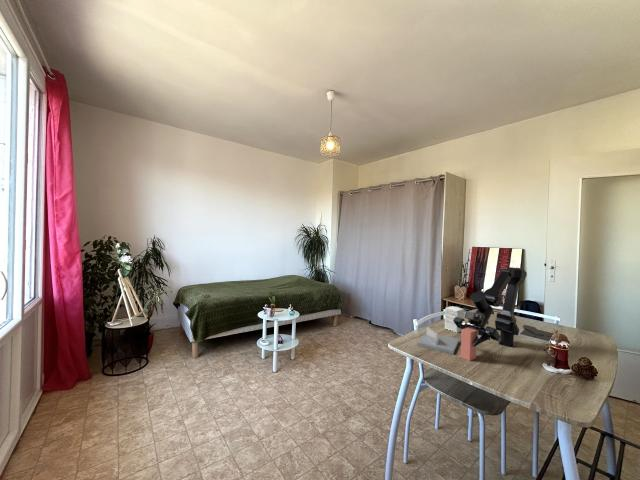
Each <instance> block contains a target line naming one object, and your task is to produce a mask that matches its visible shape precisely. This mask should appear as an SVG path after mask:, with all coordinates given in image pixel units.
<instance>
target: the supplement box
mask: <svg viewBox="0 0 640 480" xmlns="http://www.w3.org/2000/svg"><path fill="white" fill-rule="evenodd" d="M455 317H459V318H462V319H464V320H465V309H464V308H461V307H457V306H453V305H452V306H451V305H450V306H447V307H445V311H444V330H446V329H448V330H447V331H449V330H451V331H450V332H452V331H453V333H455V332H456V333H455V334H457V333H459V332H460V333H461V329H460V328H458V327H457V326H456V324H455V323H454V321H453V320H454V318H455Z"/></svg>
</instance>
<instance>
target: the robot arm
mask: <svg viewBox="0 0 640 480" xmlns="http://www.w3.org/2000/svg"><path fill="white" fill-rule="evenodd" d="M527 276H528V274H527V271H526V270H525V269H524V268H521V267H511V266H510V267H507V268H501V269H500V273H499V274H498V276H497V278H496V279H495V281H494V283H493V284H492V286H491V287H489V288H487V289H486V290H485V291H482V290H478V291H477V292H473V293H471V294H470V295H469V299H470V301H471V303H472V304H473V306H474V308H475V309H476V311H474V312H472V311H470V310H466V312H465V313H464V319H462V318H459V317H455V318H454V320H453V321H454V323H455V324H456V326H457V327H458V328H460V329H461V331H460V338H459V342H461V338H462V329H465V328H471V329H474V330H477V332H478V333H477V338H476V339H475V341H474V343H473V346H474V347H475V346H479V345H480V344H482V343H484V342H486V341H487V340H488V341H491V340H494V341H496V342H498V345H501V346H506V347H511V348H515V347H516V346H515V341H514V340H515V335H518V334H519V330H520V329H519V326H518V324H517V318H516V316H515V308H516V303H517V299H518V298H517V297H518V293H519V290H520V286H521V285H522V284H524V282H525V280H526V278H527ZM505 289H506V290H505ZM504 291H506V292H505V296H504V300H503V296H502V294H503V293H504ZM502 302H503V305H502V309H501V311H500V312H497V313H496V317H495V319H494V326H495V327H492V326H486V325H489V319H490V318H491V316H492V315H495V311H494V308H495V307H496V308H499V306H501V304H502ZM493 307H494V308H493ZM465 319H467V321H468V322H469V323H468V322H466V320H465Z"/></svg>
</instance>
